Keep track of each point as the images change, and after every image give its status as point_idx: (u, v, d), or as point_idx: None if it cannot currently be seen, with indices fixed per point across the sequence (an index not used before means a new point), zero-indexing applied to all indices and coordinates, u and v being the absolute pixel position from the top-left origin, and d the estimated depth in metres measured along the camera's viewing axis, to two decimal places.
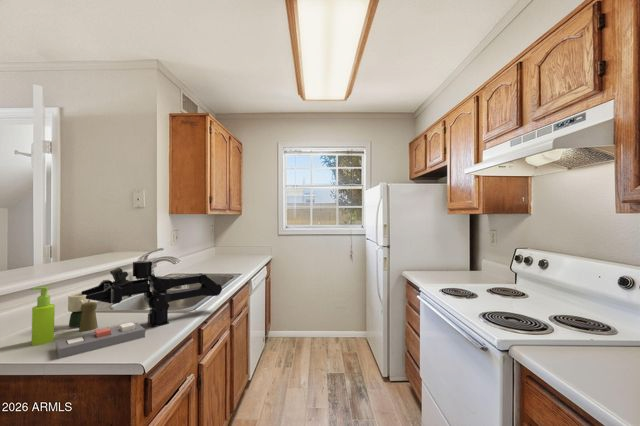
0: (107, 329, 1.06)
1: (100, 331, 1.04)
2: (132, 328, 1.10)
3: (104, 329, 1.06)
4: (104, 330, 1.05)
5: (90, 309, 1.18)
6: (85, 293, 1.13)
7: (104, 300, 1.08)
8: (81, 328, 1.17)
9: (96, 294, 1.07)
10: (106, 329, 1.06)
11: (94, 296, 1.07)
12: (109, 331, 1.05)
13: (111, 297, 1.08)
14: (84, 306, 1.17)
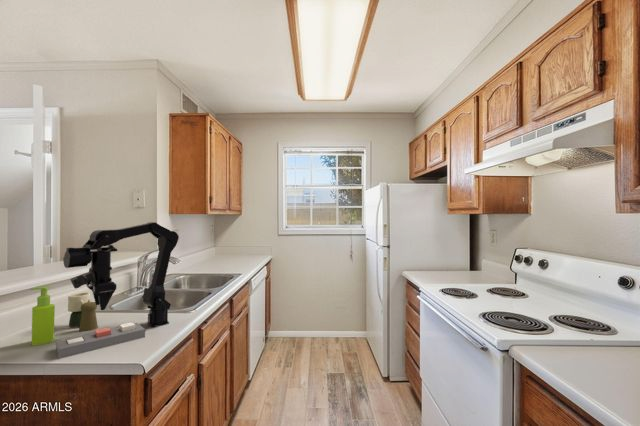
0: (107, 329, 1.06)
1: (100, 331, 1.04)
2: (132, 328, 1.10)
3: (104, 329, 1.06)
4: (104, 330, 1.05)
5: (90, 309, 1.18)
6: (99, 301, 1.12)
7: (110, 295, 1.06)
8: (81, 328, 1.17)
9: (101, 302, 1.05)
10: (106, 329, 1.06)
11: (103, 303, 1.05)
12: (109, 331, 1.05)
13: (108, 291, 1.04)
14: (84, 306, 1.17)
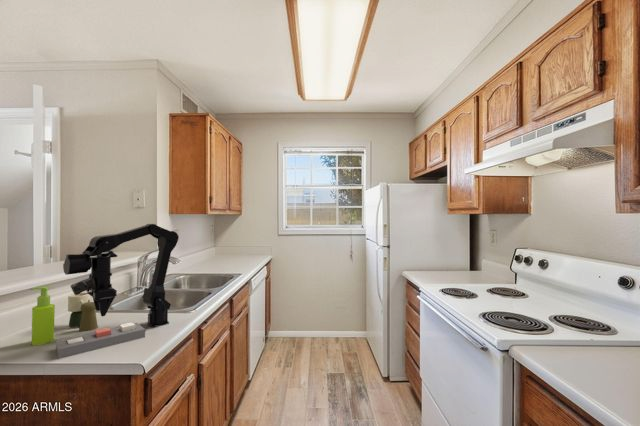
0: (107, 329, 1.06)
1: (100, 331, 1.04)
2: (132, 328, 1.10)
3: (104, 329, 1.06)
4: (104, 330, 1.05)
5: (90, 309, 1.18)
6: (99, 307, 1.12)
7: (110, 301, 1.06)
8: (81, 328, 1.17)
9: (101, 308, 1.05)
10: (106, 329, 1.06)
11: (103, 309, 1.05)
12: (109, 331, 1.05)
13: (108, 297, 1.04)
14: (84, 306, 1.17)
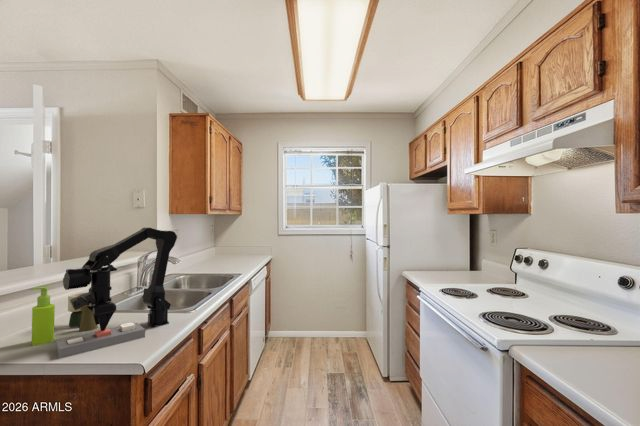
0: (107, 330, 1.06)
1: (100, 332, 1.04)
2: (132, 328, 1.10)
3: (104, 330, 1.06)
4: (104, 331, 1.05)
5: None
6: (98, 321, 1.12)
7: (110, 315, 1.06)
8: (81, 328, 1.17)
9: (101, 323, 1.05)
10: (106, 330, 1.06)
11: (103, 324, 1.05)
12: (109, 332, 1.05)
13: (107, 312, 1.04)
14: (84, 306, 1.17)
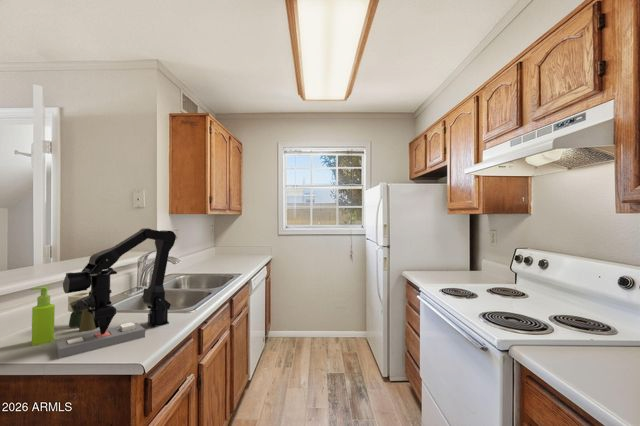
0: (107, 333, 1.06)
1: (100, 335, 1.04)
2: (132, 328, 1.10)
3: None
4: (104, 334, 1.05)
5: None
6: (98, 324, 1.12)
7: (110, 319, 1.06)
8: (81, 328, 1.17)
9: (101, 327, 1.05)
10: (106, 333, 1.06)
11: (103, 328, 1.05)
12: None
13: None
14: None
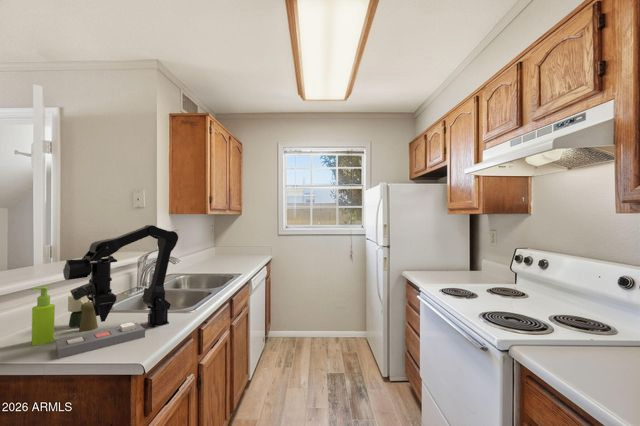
0: (107, 333, 1.06)
1: (100, 335, 1.04)
2: (132, 328, 1.10)
3: (104, 333, 1.06)
4: (104, 334, 1.05)
5: (90, 309, 1.18)
6: (99, 312, 1.12)
7: (110, 306, 1.06)
8: (81, 328, 1.17)
9: (101, 314, 1.05)
10: (106, 333, 1.06)
11: (103, 315, 1.05)
12: None
13: (108, 303, 1.04)
14: (84, 306, 1.17)
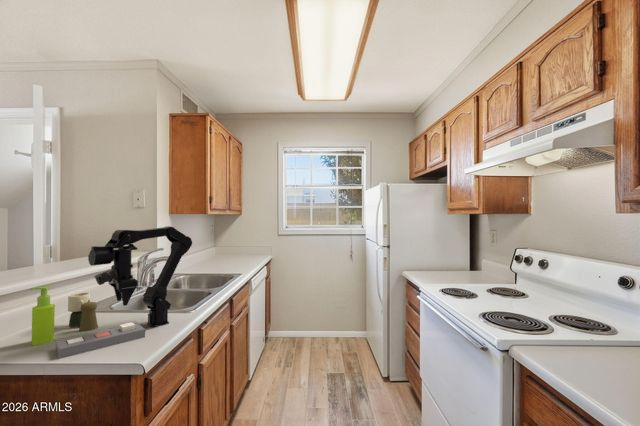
0: (107, 333, 1.06)
1: (100, 335, 1.04)
2: (132, 328, 1.10)
3: (104, 333, 1.06)
4: (104, 334, 1.05)
5: (90, 309, 1.18)
6: (120, 297, 1.18)
7: (132, 291, 1.12)
8: (81, 328, 1.17)
9: (123, 298, 1.10)
10: (106, 333, 1.06)
11: (125, 299, 1.11)
12: None
13: (130, 287, 1.10)
14: (84, 306, 1.17)
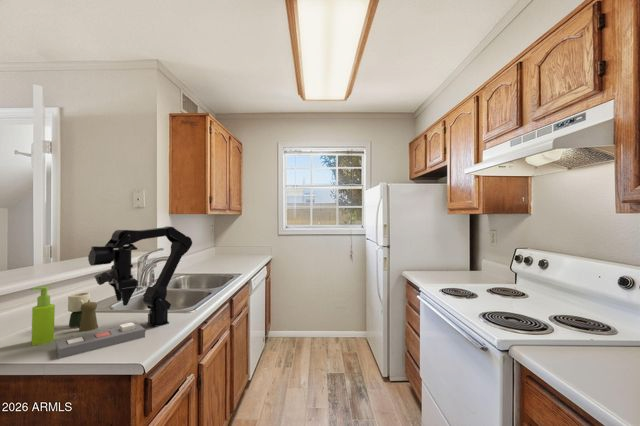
0: (107, 333, 1.06)
1: (100, 335, 1.04)
2: (132, 328, 1.10)
3: (104, 333, 1.06)
4: (104, 334, 1.05)
5: (90, 309, 1.18)
6: (120, 297, 1.18)
7: (132, 291, 1.12)
8: (81, 328, 1.17)
9: (123, 298, 1.10)
10: (106, 333, 1.06)
11: (125, 299, 1.11)
12: None
13: (130, 287, 1.10)
14: (84, 306, 1.17)
